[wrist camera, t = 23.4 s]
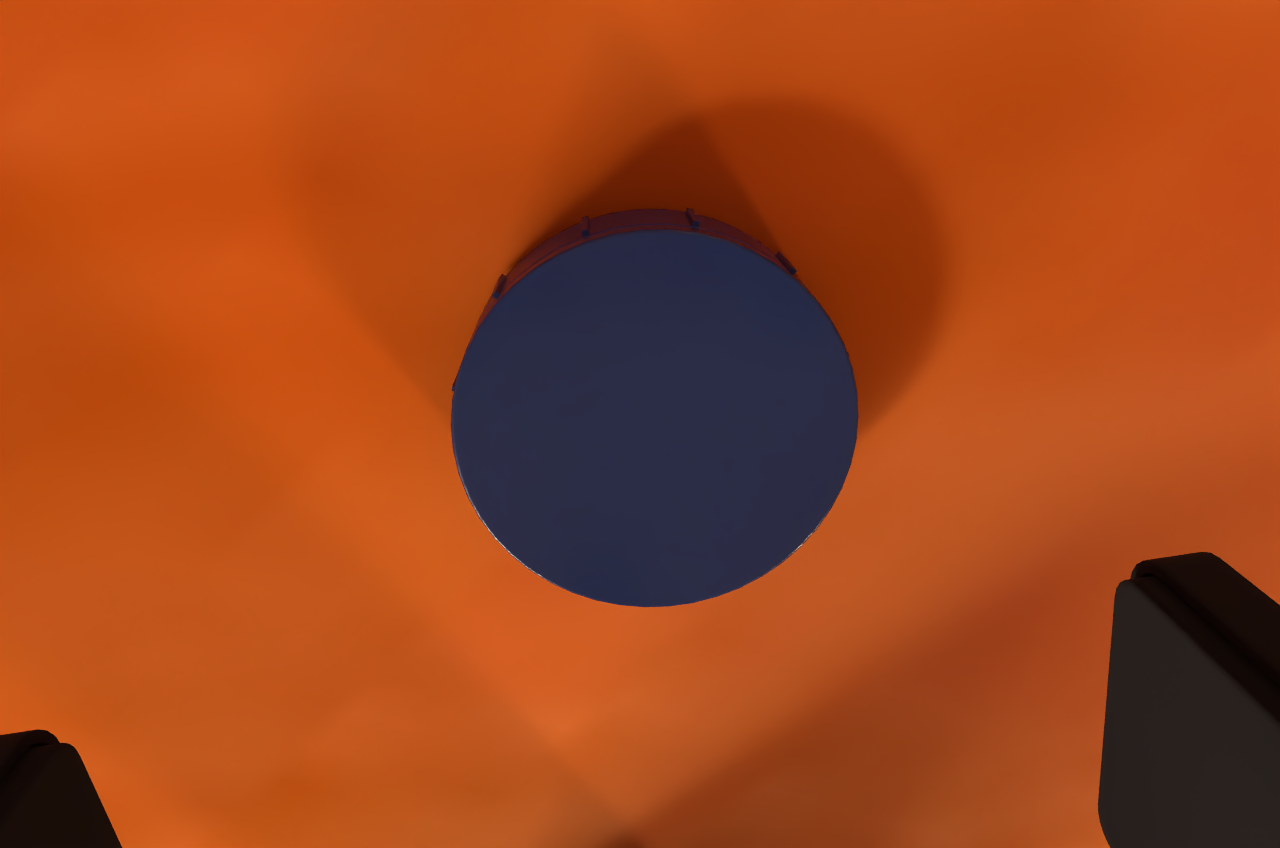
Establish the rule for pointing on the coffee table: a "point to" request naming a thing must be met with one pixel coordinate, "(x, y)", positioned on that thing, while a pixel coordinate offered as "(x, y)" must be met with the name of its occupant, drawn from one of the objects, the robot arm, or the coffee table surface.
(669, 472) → the jar lid
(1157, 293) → the coffee table surface
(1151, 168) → the coffee table surface
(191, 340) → the coffee table surface
